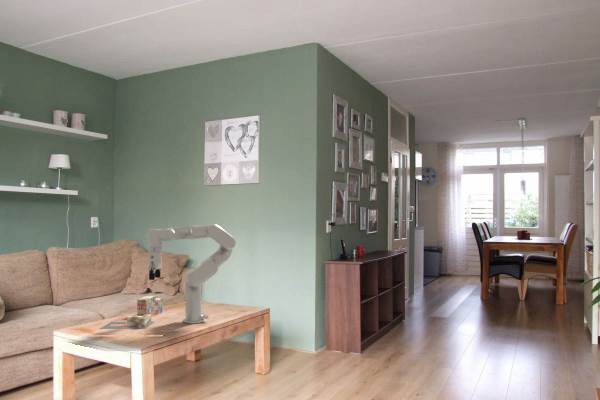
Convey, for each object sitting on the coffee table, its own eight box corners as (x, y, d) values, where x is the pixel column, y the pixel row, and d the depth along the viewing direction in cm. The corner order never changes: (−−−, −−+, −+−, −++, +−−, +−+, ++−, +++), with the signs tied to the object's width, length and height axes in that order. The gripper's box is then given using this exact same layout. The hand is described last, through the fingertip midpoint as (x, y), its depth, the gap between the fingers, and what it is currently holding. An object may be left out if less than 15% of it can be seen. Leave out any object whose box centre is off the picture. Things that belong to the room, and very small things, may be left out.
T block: (151, 322, 294) (151, 314, 294) (144, 327, 282) (144, 318, 282) (131, 322, 294) (131, 314, 294) (124, 327, 282) (124, 318, 282)
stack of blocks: (153, 311, 331) (153, 293, 331) (162, 312, 330) (162, 293, 330) (137, 318, 310) (137, 299, 310) (146, 319, 309) (146, 299, 309)
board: (154, 323, 297) (154, 321, 297) (145, 330, 279) (145, 328, 279) (111, 323, 297) (111, 321, 297) (98, 330, 279) (98, 328, 279)
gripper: (156, 251, 286) (155, 280, 286) (166, 248, 304) (165, 276, 303) (143, 250, 287) (143, 280, 286) (154, 248, 304) (153, 276, 304)
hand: (154, 278), depth 295 cm, fingers open, 9 cm apart
